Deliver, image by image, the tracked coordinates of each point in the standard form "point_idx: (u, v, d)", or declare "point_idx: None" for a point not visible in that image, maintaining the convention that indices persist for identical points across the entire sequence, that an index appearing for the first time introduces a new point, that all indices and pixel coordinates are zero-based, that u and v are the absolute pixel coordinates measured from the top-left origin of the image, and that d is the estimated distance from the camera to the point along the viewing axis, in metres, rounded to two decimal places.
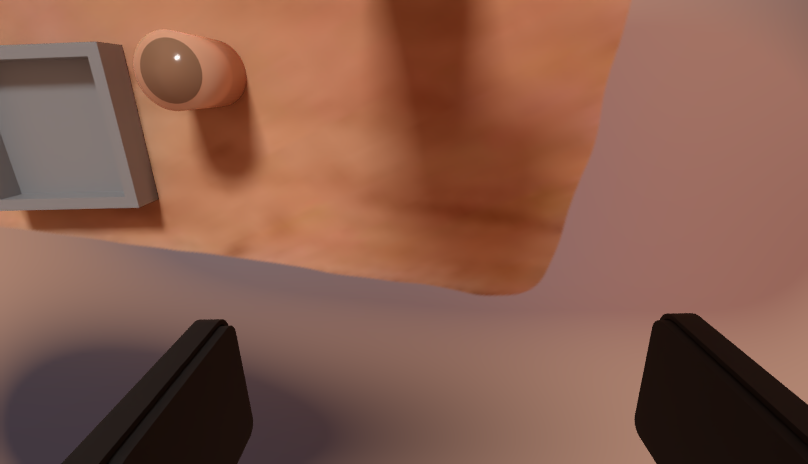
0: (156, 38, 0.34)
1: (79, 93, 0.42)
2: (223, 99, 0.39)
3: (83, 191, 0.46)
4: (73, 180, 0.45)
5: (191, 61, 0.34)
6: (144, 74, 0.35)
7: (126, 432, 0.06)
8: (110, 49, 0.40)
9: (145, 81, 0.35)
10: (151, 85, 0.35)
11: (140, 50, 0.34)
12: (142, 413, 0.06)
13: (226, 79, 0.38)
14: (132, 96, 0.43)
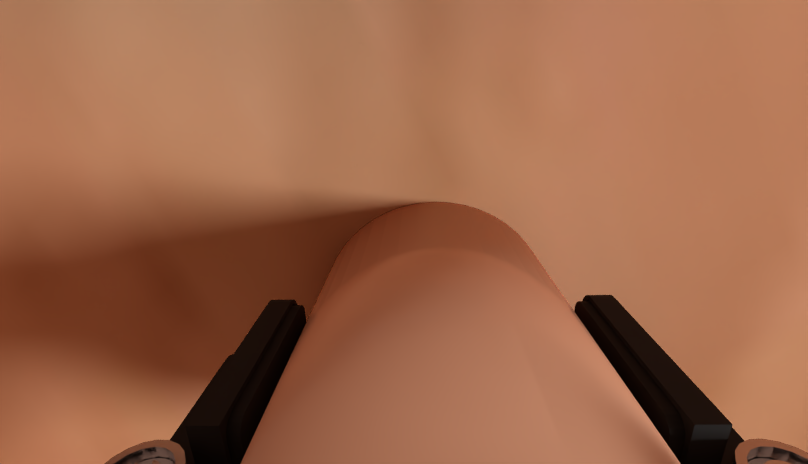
0: None
1: None
2: None
3: None
4: None
5: None
6: None
7: (239, 391, 0.07)
8: None
9: None
10: None
11: None
12: (248, 376, 0.07)
13: None
14: None
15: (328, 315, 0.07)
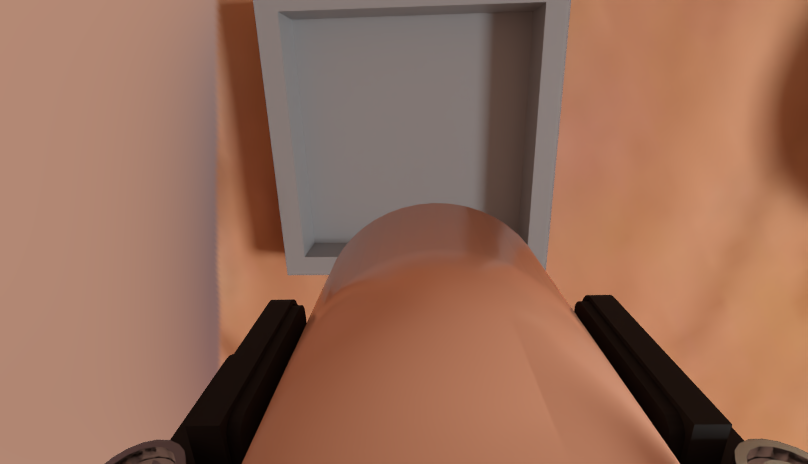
0: None
1: (469, 185, 0.26)
2: None
3: (306, 146, 0.26)
4: (325, 134, 0.25)
5: None
6: None
7: (239, 390, 0.07)
8: None
9: None
10: None
11: None
12: (247, 376, 0.07)
13: None
14: None
15: (328, 317, 0.07)
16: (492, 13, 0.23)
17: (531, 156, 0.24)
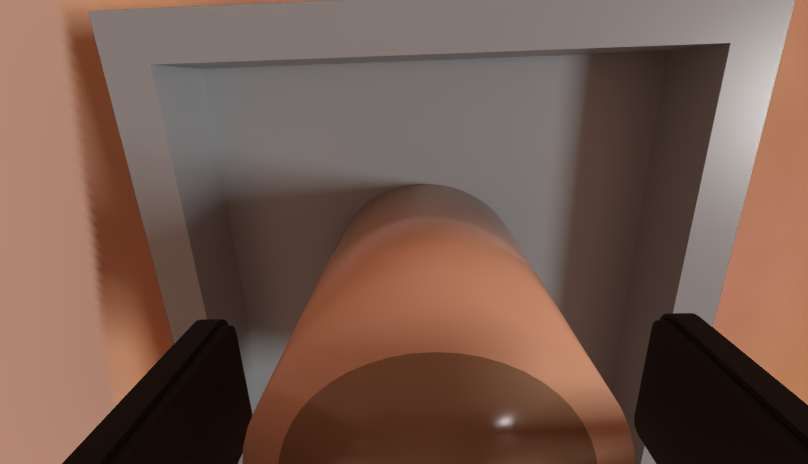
0: (597, 456, 0.06)
1: None
2: None
3: (244, 283, 0.15)
4: (276, 264, 0.14)
5: None
6: (424, 371, 0.06)
7: (126, 431, 0.06)
8: None
9: (387, 360, 0.06)
10: (364, 391, 0.06)
11: (551, 373, 0.06)
12: (143, 412, 0.06)
13: None
14: None
15: (341, 262, 0.09)
16: (587, 56, 0.12)
17: None
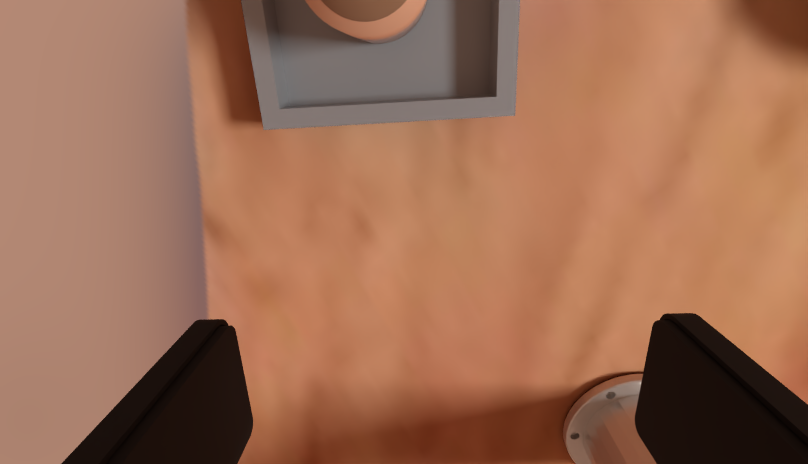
0: None
1: (439, 35, 0.27)
2: None
3: None
4: None
5: (381, 4, 0.19)
6: None
7: (125, 432, 0.06)
8: None
9: None
10: None
11: None
12: (142, 413, 0.06)
13: (360, 38, 0.22)
14: None
15: None
16: None
17: None
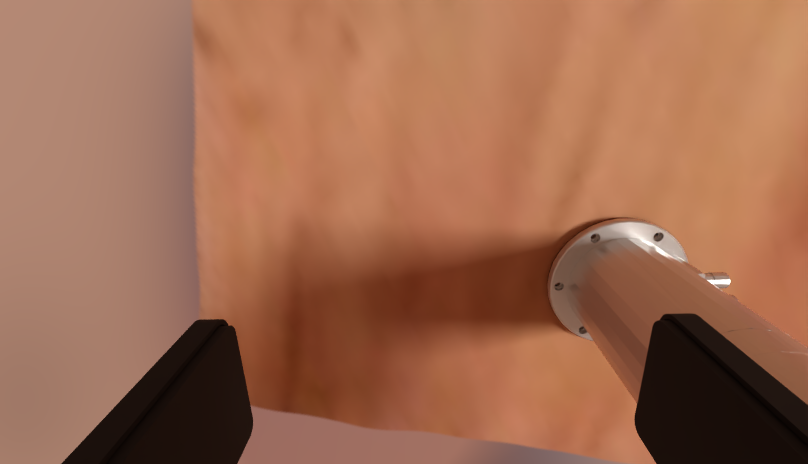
0: None
1: None
2: None
3: None
4: None
5: None
6: None
7: (125, 432, 0.06)
8: None
9: None
10: None
11: None
12: (142, 413, 0.06)
13: None
14: None
15: None
16: None
17: None
